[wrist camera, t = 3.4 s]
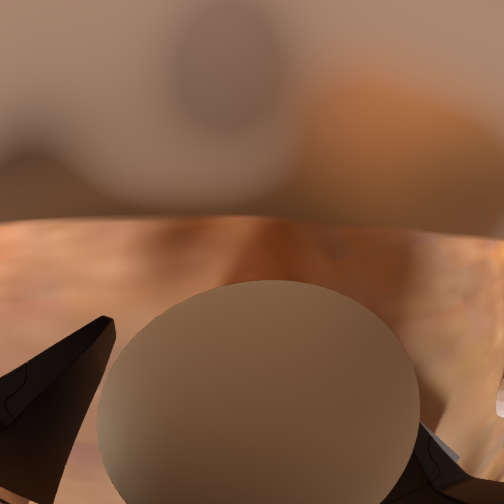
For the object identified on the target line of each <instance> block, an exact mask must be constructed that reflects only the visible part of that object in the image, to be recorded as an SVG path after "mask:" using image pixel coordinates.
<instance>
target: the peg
mask: <svg viewBox="0 0 504 504" xmlns="http://www.w3.org/2000/svg"><path fill="white" fill-rule="evenodd" d="M419 421H420V395H419V386H418V382H417V378H416V374H415V370H414V368H413V365H412V363H411V360H410V358H409V356H408V353H407V352H406V350H405V348H404V347H403V345H402V343H401V342H400V340H399V339H398V337H397V336H396V335H395V334H394V332H393V331H392V330H391V329H390V328H389V326H388V325H387V324H386V323H385V322H384V321H382V320H381V319H380V318H379V317H378V316H377V315H376V314H375V313H374V312H372V311H371V310H369V309H368V308H366V307H365V306H363V305H362V304H360V303H359V302H357V301H356V300H353V299H351V298H349V297H347V296H345V295H343V294H341V293H339V292H336V291H333V290H330V289H327V288H324V287H321V286H318V285H313V284H308V283H302V282H297V281H284V280H261V281H247V282H241V283H236V284H231V285H226V286H221V287H218V288H215V289H212V290H209V291H206V292H203V293H200V294H197V295H195V296H193V297H191V298H189V299H187V300H185V301H182V302H180V303H178V304H176V305H174V306H173V307H171V308H170V309H168V310H167V311H165V312H164V313H162V314H161V315H159V316H157V317H156V318H155V319H153V320H152V321H151V322H150V323H149V324H148V325H146V326H145V327H144V328H143V329H142V330H141V331H140V332H138V333H137V334H136V335H135V337H134V338H133V339H132V340H131V341H130V342H129V344H128V345H127V346H126V347H125V348H124V349H123V351H122V352H121V354H120V355H119V357H118V358H117V360H116V362H115V363H114V365H113V366H112V368H111V370H110V372H109V375H108V377H107V379H106V382H105V384H104V387H103V390H102V394H101V398H100V402H99V406H98V417H97V434H98V443H99V449H100V453H101V456H102V460H103V464H104V466H105V468H106V471H107V473H108V475H109V477H110V480H111V482H112V483H113V485H114V486H115V488H116V490H117V491H118V493H119V494H120V496H121V497H122V498H123V500H124V501H125V502H126V503H127V504H380V503H381V502H382V501H383V500H384V499H385V497H386V496H387V495H388V494H389V492H390V491H391V490H392V488H393V487H394V486H395V484H396V483H397V481H398V480H399V478H400V476H401V475H402V473H403V471H404V469H405V468H406V465H407V463H408V461H409V459H410V456H411V454H412V451H413V448H414V445H415V441H416V438H417V433H418V428H419Z"/></svg>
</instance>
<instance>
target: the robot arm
mask: <svg viewBox="0 0 504 504" xmlns="http://www.w3.org/2000/svg"><path fill="white" fill-rule="evenodd" d="M115 340H116V330H115V323H114V320H113V318H110V317H107V316H104V315H103V316H100V317H99V318H97V319H95V320H94V321H92V322H90V323H89V324H87V325H85V326H84V327H82V328H80V329H79V330H77V331H75V332H74V333H72V334H71V335H69V336H67V337H66V338H64V339H62V340H61V341H59V342H58V343H56V344H54V345H53V346H51V347H50V348H48V349H46V350H45V351H43V352H42V353H40V354H38V355H37V356H35V357H34V358H32V359H31V360H29V361H28V362H26V363H24V364H23V365H21V366H19V367H18V368H16V369H14V370H13V371H11V372H9V373H8V374H6V375H4V376H2V377H0V504H29V501H33V502H35V503H38V504H53V502H54V499H55V496H56V493H57V490H58V486H59V483H60V480H61V477H62V475H63V472H64V469H65V466H66V463H67V460H68V457H69V455H70V452H71V450H72V447H73V444H74V442H75V439H76V437H77V434H78V432H79V429H80V427H81V424H82V422H83V420H84V417H85V415H86V413H87V410H88V408H89V406H90V403H91V401H92V399H93V397H94V395H95V392H96V390H97V388H98V386H99V384H100V382H101V379H102V377H103V374H104V372H105V369H106V366H107V363H108V360H109V357H110V354H111V351H112V348H113V346H114V343H115ZM380 504H504V482H498V481H492V480H485V479H480V478H475V477H472V476H470V475H468V474H467V473H466V472H464V471H463V470H462V469H461V468H460V467H459V466H458V464H457V463H456V462H455V461H454V460H453V459H452V458H451V457H450V456H449V455H448V454H447V453H446V452H445V451H444V450H443V449H442V448H441V447H440V445H439V444H438V443H437V442H436V441H435V439H434V438H433V437H432V436H431V435H429V432H428V431H427V430H426V428H425V427H424V426H423V425H422V424H421V422H420V421H419V428H418V433H417V438H416V441H415V445H414V448H413V451H412V454H411V456H410V459H409V461H408V463H407V465H406V468H405V469H404V471H403V473H402V475H401V476H400V478H399V480H398V481H397V483H396V484H395V486H394V487H393V488H392V490H391V491H390V492H389V494H388V495H387V496H386V497H385V499H384V500H383V501H382V502H381V503H380Z"/></svg>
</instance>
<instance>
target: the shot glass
mask: <svg viewBox="0 0 504 504" xmlns="http://www.w3.org/2000/svg"><path fill="white" fill-rule="evenodd" d="M496 411H497V414H498V415H499V416H500V417H504V378H503V379H502V381H501V384H500V387H499V390H498V395H497V400H496Z"/></svg>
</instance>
